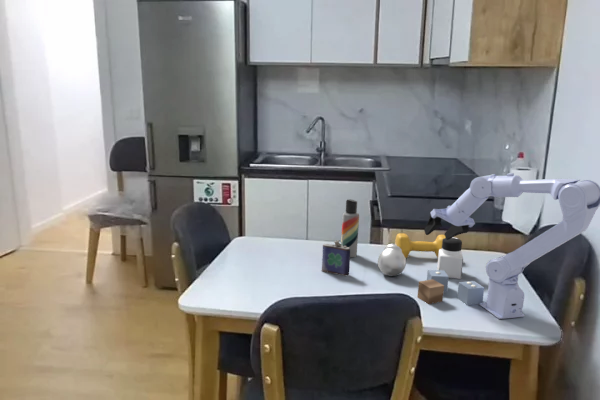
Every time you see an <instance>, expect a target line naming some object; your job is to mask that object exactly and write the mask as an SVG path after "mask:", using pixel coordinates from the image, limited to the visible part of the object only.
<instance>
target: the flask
mask: <svg viewBox="0 0 600 400" xmlns="http://www.w3.org/2000/svg"><path fill="white" fill-rule="evenodd" d="M333 243H334V244H332V243H323V244H322V258H321V271H322V272H324V273H330V274H334V275H335V274H336V275H339V276H345V277H347V276H350V268H351V267H350V261H351V258H350V248H349V247H346V246H343V245H341V240H339V239H338V240H334V241H333Z"/></svg>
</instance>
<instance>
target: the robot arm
mask: <svg viewBox="0 0 600 400" xmlns="http://www.w3.org/2000/svg"><path fill="white" fill-rule="evenodd" d="M524 193H531V194H533V193H534V194H549V195H550V196H551V197H552V198H553V200H555V201H556V200H558V203H559V206H560V209H561V213H562V220H561V221H560V222H558V223H557V224H555V225H554V226H552V227H551V228H548V229H547V230H546V231H544V232H542V233H541V234H539V235H537V236H536V237H534V238H533V239H531V240H530V241H528V242H526V243H524V244H523V245H521V246H520V247H518V248H516V249H514V250H513V251H511V252H508V253H506V254H505V255H501V256H499V257H496V258H492V259H490V260H488V261H487V263H486V264H485V265H486V266H485V270H486V274H487V276H488V288H487V295H486V296H487V297H486V302H485V301H484V302H482V303H480V304H479V305H480V306H481V307H483V309H485V310H486V311H488V313H490V314H492V315H493V316H494V317H496V318H497V319H499V320H503V319H504V320H505V319H512V318H522V317H525V314H524V313H523V310H524V309H523V308H524V303H525V302H524V301H525V293H524V290H523V289H522V288H521V287H520V286H519V283H518V281H519V275H521V274H522V273H523V272H524V269H525V268H526V267H527V266H528V265H530V264H531V263H533V262H534V261H536V260H537V259H539V258H540V257H543V256H544V255H546V254H548V253H549V252H551V251H553V250H554V249H556V248H558V247H560V246H561V245H563V244H565V243H566V242H568V241H570V240H572V239H574V238H575V237H577V236H578V235H581V234H582V233H583V232H585V231H586V230H588V228H589V226H590V224H591V222H592V220H593V218H594V217H595V213H596V211H597V210H598V209H599V207H600V185H599V184H598V183H597V182H596V181H594V180H591V179H586V180H585V179H583V180H581V179H578V178H545V179H543V178H542V179H523V178H522V177H521V176H520V175H515V173H514V172H509V173H506V175H497V174H496V173H493V174H490V175H488V174H487V175H484V176H483V175H482V176H478V177H475V178H473V179H472V180H471V182H470V184H469V188H468V189H466V190H465V191H464V192H463V193H462V194H461V195H460V196H459V197H458V199H456V200H455V202H453V203H452V204H451V205H448V206H446V208H439V209H438V208H433V209H432V210H430V212H429V217H428V222H427V223H426V225H425V227H424V229H423V230H424V235H426V236H428V235H431V234H432V233H433V232H434V231H435V230H437V229H439V228H442V227H443V226H442V225H443V224H442V220H444V221H446V222H448V223H449V224H451V225H450V227H449V228H448V229H447V230H446V231H445V233H444V235H445V237H446V239H447V240H448V239H450V238H452V237H454V238H455V237H457V236H458V235H462V234H467V233H469V230H470V229H469V228H473V226H474V225H476V222H475V220H474V218H471V215H472V214H474V213H475V212H476V211H477V210H478V209H479V207H481V206H482V205H483V204H484V203H485V202H486V201H487V200H488V199H489V197H494V198H519V197H520V196H521V195H522V194H524ZM468 227H469V228H468Z"/></svg>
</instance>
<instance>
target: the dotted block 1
mask: <svg viewBox="0 0 600 400" xmlns="http://www.w3.org/2000/svg"><path fill="white" fill-rule="evenodd" d="M431 279H433V280H435V281H437V282H439V283H440V284H442V285H444V292H443V293H448V284H449V278H448V275H447V274H446V272H445V271H444V270H437V269H427V272H426V280H431Z"/></svg>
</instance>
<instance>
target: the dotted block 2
mask: <svg viewBox="0 0 600 400" xmlns="http://www.w3.org/2000/svg"><path fill="white" fill-rule="evenodd" d="M484 291H485V287H484V286H482V285H481V284H479V283H478V282H476V281H475V280H471V281H458V286H457V294H456V295H457V297H456V299H458V300H459V301H461V303H463V304H464V303H465V304H464V305H465V306H473V305H480V303H484V302H483V301H484V300H483V299H484Z"/></svg>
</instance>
